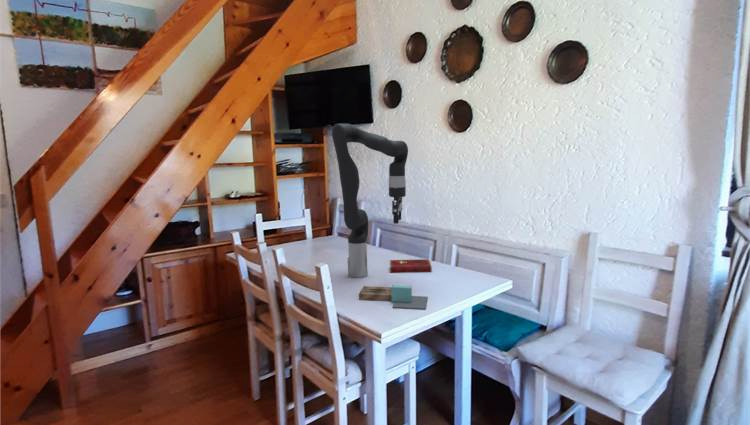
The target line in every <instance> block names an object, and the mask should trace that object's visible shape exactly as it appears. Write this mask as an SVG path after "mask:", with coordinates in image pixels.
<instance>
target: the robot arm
mask: <svg viewBox="0 0 750 425" xmlns="http://www.w3.org/2000/svg"><path fill="white" fill-rule="evenodd" d="M331 136H332V141H333V146H334V149H335V153H336V159H337V165H338V166H337V167H338V171H339V174H338V175H339V179H340V185H341V194H342V201H343V220H344V224H345V226H346V228H347V229H348V230H350V231H351V232H350V234H349V235H348V236H347V245H348V248H347V249H348V257H347V276H348V277H349V278H350V277H351V278H355V279H359V278H365V277H368V272H369V270H368V244H367V243H368V242H367V241H368V239H367V238H368V236H369V217H368V214H367V211H366V210H364V209H361V208H358V202H357V201H358V194H359V189H360V183H361V182H360V181H361V180H360V175H359V174H360V172H359V168H358V166H357V164H356V163H355V160H354V159H353V157H352V156H351V154H350V151H349V148H348V143H356V144H362V145H364V147H367V148H368V149H370V150H373V151H376V152H381V153H382V154H383V155H385V156H387V157H390V158H393V161H392V162H391V163H390V164H389V169H388V174H389V175H388V176H389V178H388V197H389V198H393V199H392V201H391V203H392V207H391V208H392V209H391V214H392V215H393V218H392V219H393V224H399V222H400V221H401V220H402V211H403V198H405V197H406V195H407V194H406V192H407V190H406V186H407V185H406V183H407V182H406V164H407V160H408V154H409V148H408V144H407V142H405V141H403V140H393V139H389V138H387V137H385V136H382V135H379V134H376V133H371V132H369V131H365V130H363V129H361V128H359V127H357V126H356V125H353V124H351V123H335V124H334V125H333V127H332V131H331Z"/></svg>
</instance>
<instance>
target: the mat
mask: <svg viewBox="0 0 750 425" xmlns="http://www.w3.org/2000/svg"><path fill="white" fill-rule="evenodd" d="M428 299H429V296H422V295H420V296H419V295H412V301H411V302H396V301H393V305H392V309H402V310H403V309H405V310H424V311H426V310H427V303H428Z"/></svg>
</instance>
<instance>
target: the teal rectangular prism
mask: <svg viewBox="0 0 750 425" xmlns="http://www.w3.org/2000/svg"><path fill="white" fill-rule="evenodd" d="M390 287H391V293H392V301H391V302H395V301H396V302H411V301H412V296H413V291H412V290H413V287H412V285H411V286H410V285H397V284H396V285H395V284H394V285H392V286H390Z"/></svg>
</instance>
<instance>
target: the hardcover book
mask: <svg viewBox="0 0 750 425" xmlns="http://www.w3.org/2000/svg"><path fill="white" fill-rule="evenodd" d="M432 268H433V267H432V263H431V260H430V259H429V258H427V259H423V258H422V259H421V258H420V259H390V260H389V271H390V272H389V273H390V274H391V273H392V274H394V273H395V274H397V273H399V274H401V273H402V274H404V273H432V270H433V269H432Z"/></svg>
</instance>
